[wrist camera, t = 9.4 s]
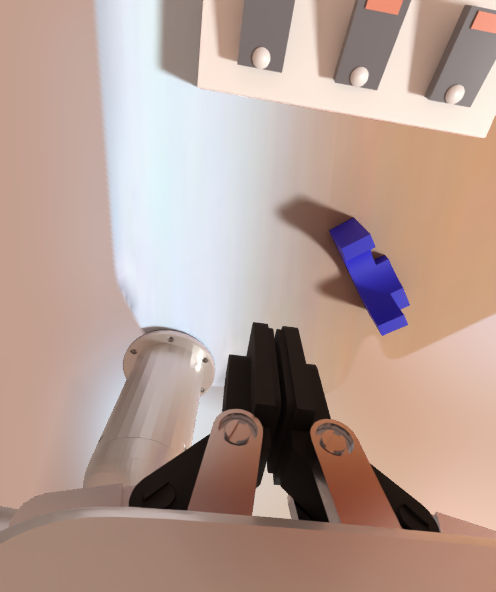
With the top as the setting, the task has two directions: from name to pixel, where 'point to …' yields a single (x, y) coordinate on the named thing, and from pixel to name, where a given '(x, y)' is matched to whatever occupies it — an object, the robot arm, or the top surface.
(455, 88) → the grey flat block
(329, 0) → the power strip
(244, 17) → the grey rectangular block
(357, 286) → the cable clip
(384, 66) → the block
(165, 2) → the top surface
